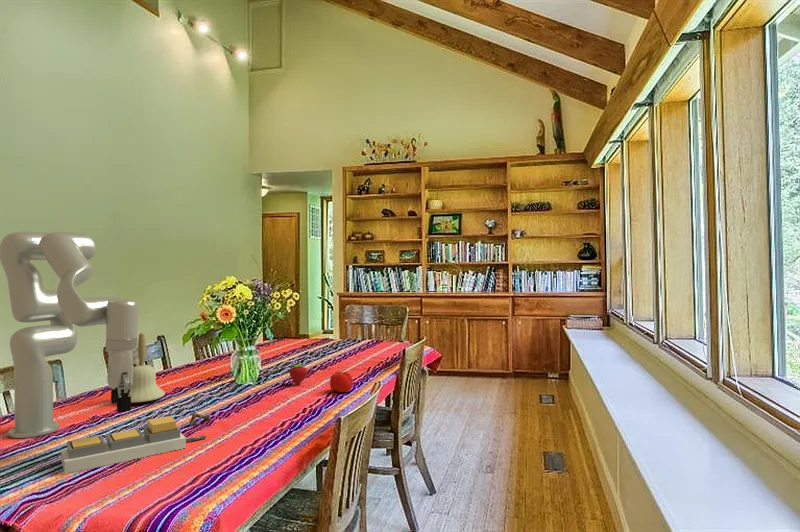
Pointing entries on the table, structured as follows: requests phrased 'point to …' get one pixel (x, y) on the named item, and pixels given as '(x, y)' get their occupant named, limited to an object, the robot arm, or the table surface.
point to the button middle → (124, 435)
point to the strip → (122, 449)
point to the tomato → (341, 382)
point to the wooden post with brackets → (194, 415)
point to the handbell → (144, 378)
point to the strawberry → (298, 373)
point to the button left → (85, 442)
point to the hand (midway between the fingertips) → (120, 407)
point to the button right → (161, 424)
